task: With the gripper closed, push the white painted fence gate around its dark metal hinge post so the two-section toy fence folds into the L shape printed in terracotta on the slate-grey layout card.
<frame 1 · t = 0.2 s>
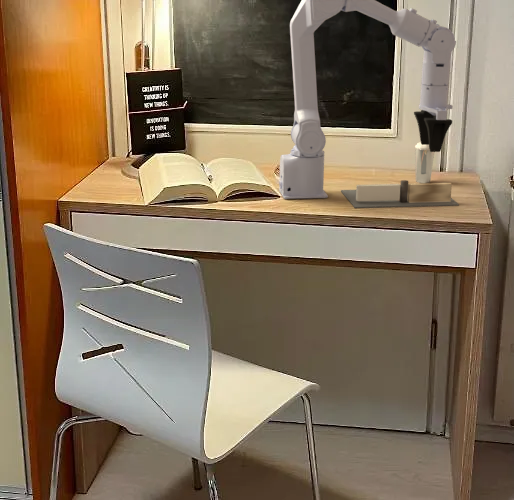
hand: (430, 147, 194), 10 cm above the table, tool pointing down, fingers open, 7 cm apart
layout card: (398, 198, 193), on the table
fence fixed: (403, 203, 189), resting on layout card
fence gate: (378, 192, 187), point 2 cm above the table, hinge at 0.0°
milkshake: (424, 182, 207), on the table
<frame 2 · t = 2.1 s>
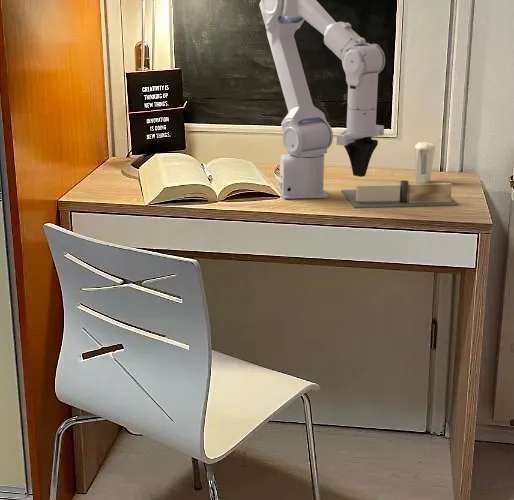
hand: (359, 175, 181), 7 cm above the table, tool pointing down, fingers closed
nothing on the table moved.
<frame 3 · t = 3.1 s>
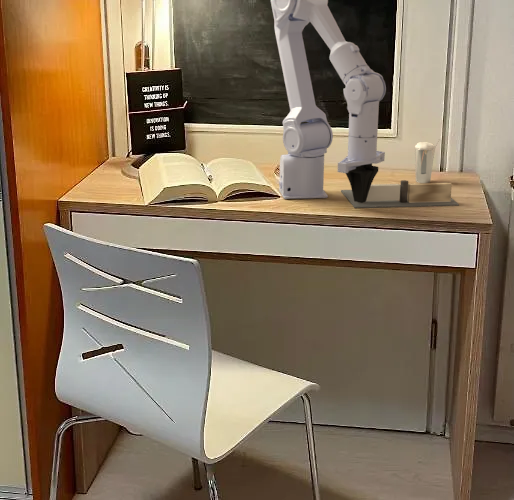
hand: (360, 201, 184), 2 cm above the table, tool pointing down, fingers closed
nothing on the table moved.
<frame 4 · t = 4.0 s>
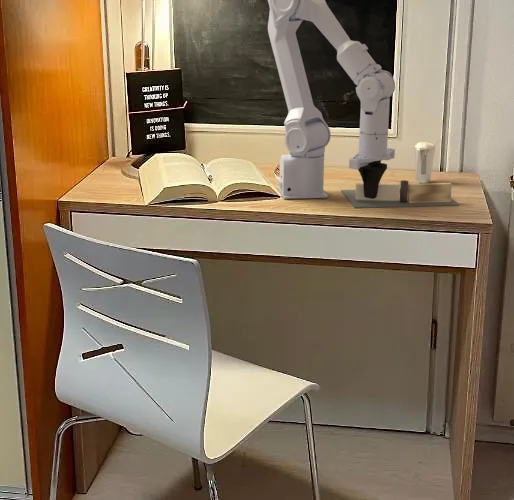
hand: (370, 197, 187), 2 cm above the table, tool pointing down, fingers closed, pressing on fence gate
fence gate: (377, 191, 188), point 2 cm above the table, hinge at 9.3°, touching gripper
everything else where it was.
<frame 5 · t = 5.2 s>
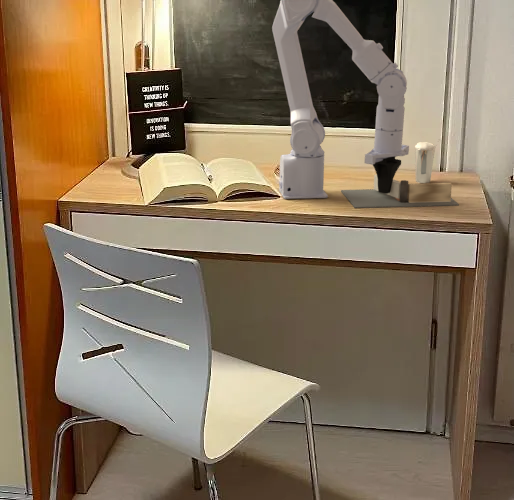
hand: (384, 192, 192), 1 cm above the table, tool pointing down, fingers closed, pressing on fence gate
fence gate: (388, 186, 193), point 2 cm above the table, hinge at 69.0°, touching gripper
everything else where it was.
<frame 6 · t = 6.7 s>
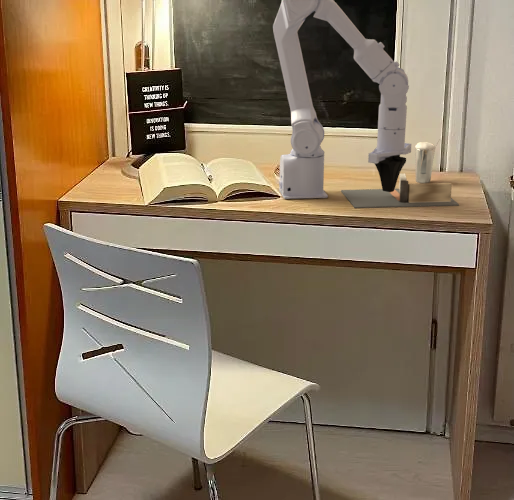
hand: (388, 191, 192), 2 cm above the table, tool pointing down, fingers closed
fence gate: (403, 185, 193), point 2 cm above the table, hinge at 103.4°
everything else where it was.
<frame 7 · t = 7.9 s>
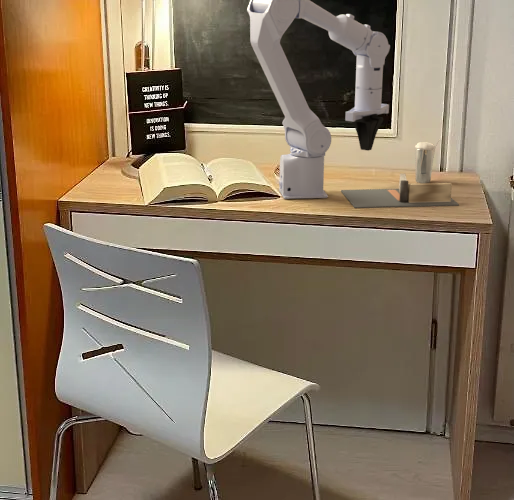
hand: (366, 149, 199), 8 cm above the table, tool pointing down, fingers closed
nothing on the table moved.
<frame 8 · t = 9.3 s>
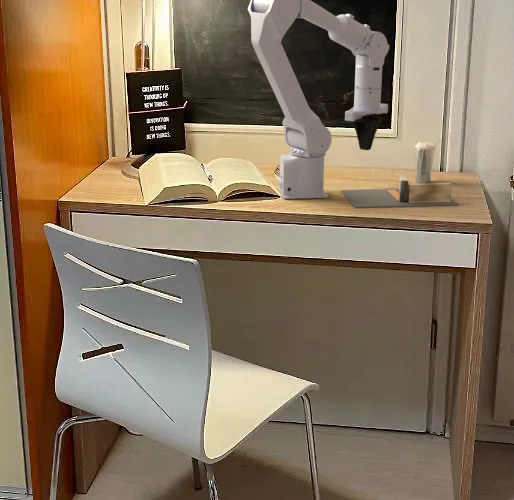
hand: (365, 149, 200), 8 cm above the table, tool pointing down, fingers closed
nothing on the table moved.
at the end: fence gate at +103° (first picture: +0°); milkshake moved 0.2 cm from its start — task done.
